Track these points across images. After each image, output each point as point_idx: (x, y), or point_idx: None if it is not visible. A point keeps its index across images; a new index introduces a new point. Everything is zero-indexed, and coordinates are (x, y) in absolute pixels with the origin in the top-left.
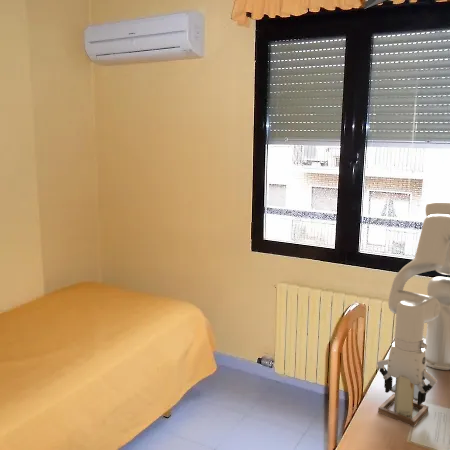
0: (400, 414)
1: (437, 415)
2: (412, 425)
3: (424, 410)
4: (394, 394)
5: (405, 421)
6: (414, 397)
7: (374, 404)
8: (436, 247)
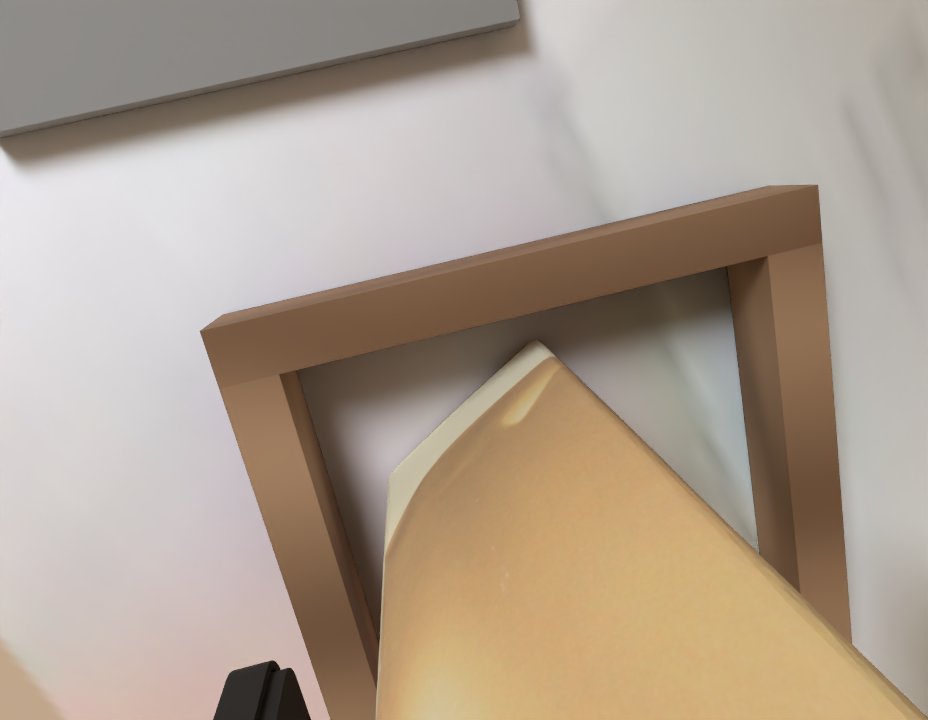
0: None
1: (908, 169)
2: None
3: (829, 344)
4: (236, 354)
5: None
6: (448, 33)
7: (208, 682)
8: None
